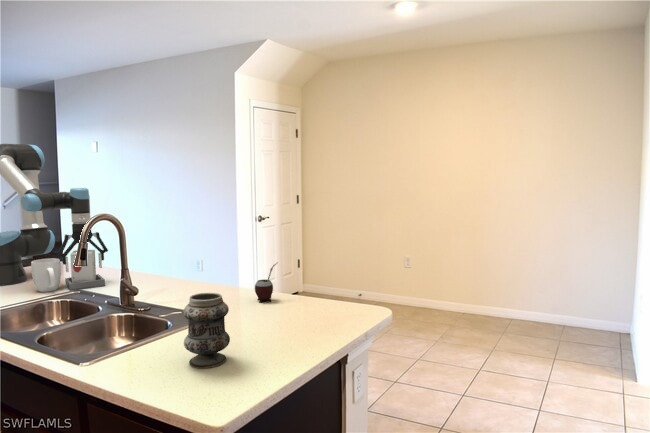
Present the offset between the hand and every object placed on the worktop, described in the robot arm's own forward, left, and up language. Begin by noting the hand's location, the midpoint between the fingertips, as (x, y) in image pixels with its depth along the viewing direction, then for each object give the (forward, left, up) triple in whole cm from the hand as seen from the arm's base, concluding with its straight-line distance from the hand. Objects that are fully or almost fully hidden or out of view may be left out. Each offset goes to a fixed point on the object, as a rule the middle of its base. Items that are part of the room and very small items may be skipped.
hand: (84, 269), depth 218 cm
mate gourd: (+72, +53, -7) cm, 90 cm away
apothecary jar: (+116, +12, -7) cm, 117 cm away
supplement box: (0, 0, -7) cm, 7 cm away
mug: (+1, -14, -7) cm, 16 cm away
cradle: (0, 0, -7) cm, 7 cm away
